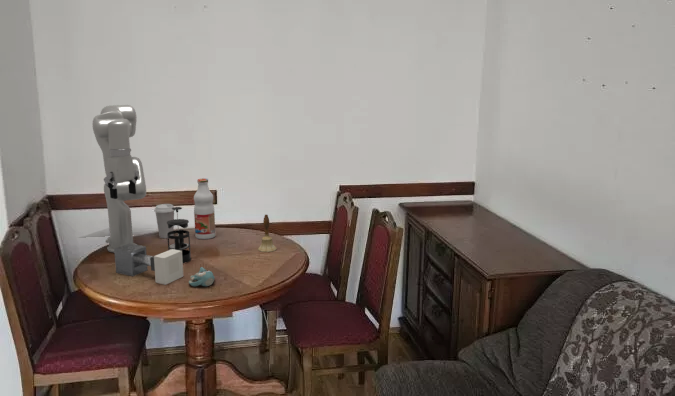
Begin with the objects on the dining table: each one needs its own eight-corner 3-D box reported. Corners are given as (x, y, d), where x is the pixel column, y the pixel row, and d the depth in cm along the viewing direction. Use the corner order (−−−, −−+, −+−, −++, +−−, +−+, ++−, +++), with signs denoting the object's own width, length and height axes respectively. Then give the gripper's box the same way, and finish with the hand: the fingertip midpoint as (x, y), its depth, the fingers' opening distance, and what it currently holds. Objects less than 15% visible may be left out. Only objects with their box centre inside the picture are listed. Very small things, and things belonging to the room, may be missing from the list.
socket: (155, 282, 232) (153, 256, 229) (173, 274, 240) (171, 249, 238) (165, 284, 230) (164, 258, 227) (183, 276, 238) (181, 250, 236)
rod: (129, 265, 240) (128, 253, 239) (138, 262, 244) (137, 249, 243) (166, 273, 232) (165, 260, 230) (175, 269, 236) (174, 256, 235)
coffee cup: (173, 239, 286) (171, 208, 283) (153, 239, 287) (151, 208, 283) (179, 233, 296) (177, 203, 292) (159, 233, 296) (157, 203, 293)
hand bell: (254, 250, 270) (253, 216, 266) (263, 245, 277) (262, 211, 274) (271, 253, 267) (270, 218, 263) (279, 247, 274) (279, 213, 271)
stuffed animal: (203, 262, 238) (220, 264, 230) (206, 280, 239) (223, 282, 230) (179, 269, 231) (196, 271, 222) (182, 287, 231) (199, 290, 223)
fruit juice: (218, 237, 290) (216, 179, 284) (200, 240, 284) (197, 182, 278) (210, 232, 297) (207, 176, 291) (192, 236, 292) (189, 178, 285)
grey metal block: (116, 272, 242) (114, 248, 240) (130, 266, 249) (129, 243, 247) (133, 276, 238) (131, 252, 236) (147, 270, 245) (146, 246, 243)
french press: (189, 264, 252) (186, 210, 247) (166, 264, 252) (162, 210, 246) (193, 255, 264) (190, 203, 259) (171, 255, 263) (168, 204, 258)
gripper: (129, 149, 245) (132, 190, 249) (95, 155, 230) (99, 199, 234) (143, 150, 242) (146, 192, 246) (110, 156, 227) (113, 201, 231)
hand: (123, 195), depth 240 cm, fingers open, 9 cm apart
